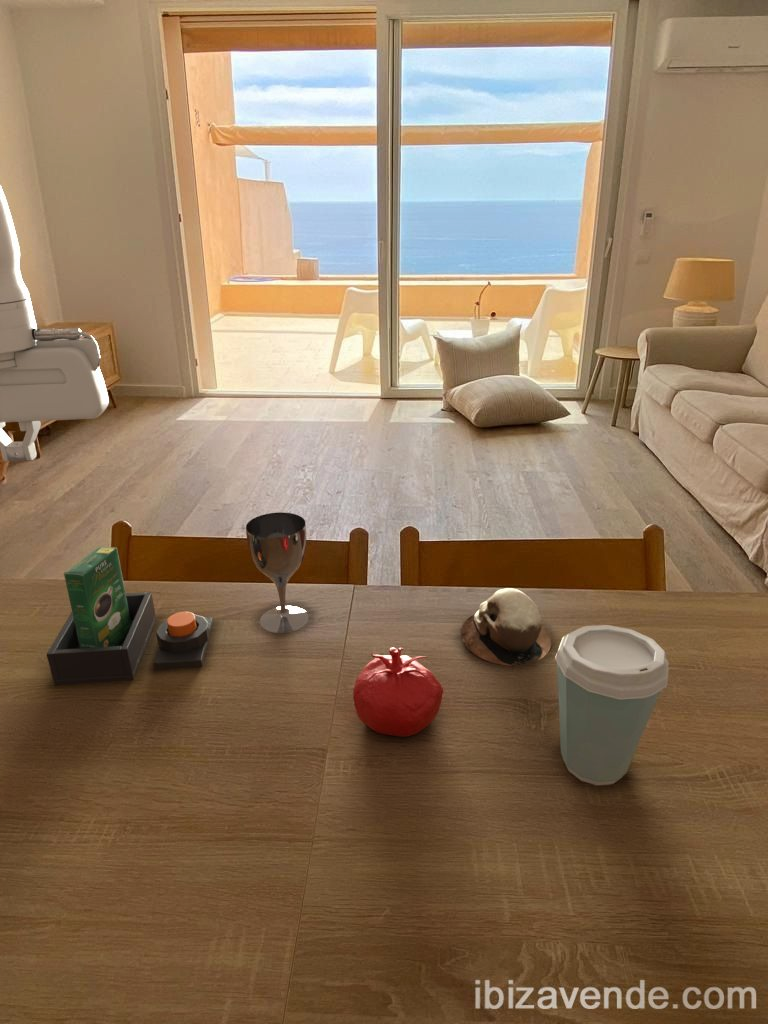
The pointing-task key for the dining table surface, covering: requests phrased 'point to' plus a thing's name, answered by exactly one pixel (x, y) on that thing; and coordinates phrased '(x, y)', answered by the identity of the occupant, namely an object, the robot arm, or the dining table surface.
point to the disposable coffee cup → (606, 698)
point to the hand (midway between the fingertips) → (20, 459)
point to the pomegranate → (397, 694)
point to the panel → (183, 646)
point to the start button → (181, 624)
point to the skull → (506, 629)
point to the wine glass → (279, 563)
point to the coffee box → (98, 599)
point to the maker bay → (103, 649)
